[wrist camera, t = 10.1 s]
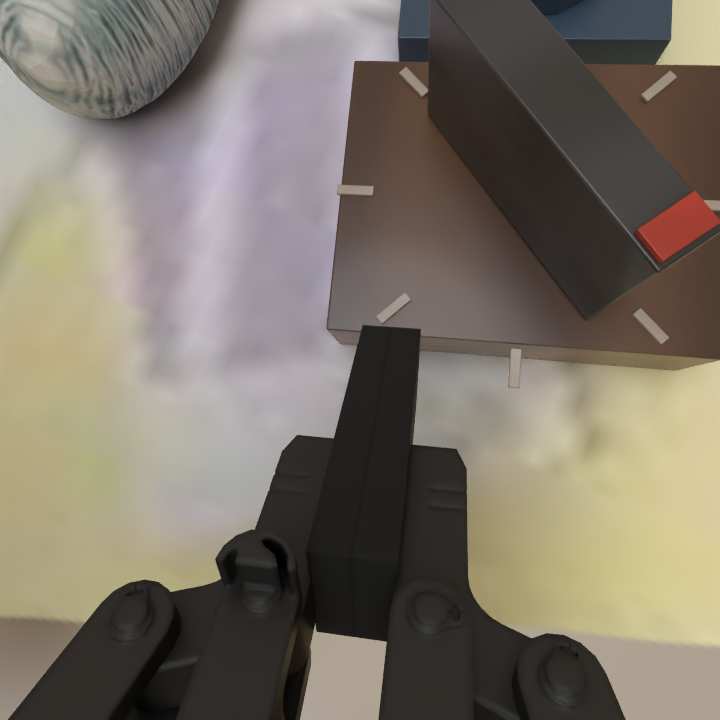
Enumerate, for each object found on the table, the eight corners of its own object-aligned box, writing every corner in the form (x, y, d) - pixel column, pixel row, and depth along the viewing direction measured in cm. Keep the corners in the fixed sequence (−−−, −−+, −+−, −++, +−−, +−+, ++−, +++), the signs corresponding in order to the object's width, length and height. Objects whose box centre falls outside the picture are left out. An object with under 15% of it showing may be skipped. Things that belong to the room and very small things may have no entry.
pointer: (426, 114, 21) (428, -18, 15) (469, 84, 21) (489, -60, 15) (586, 321, 19) (663, 271, 13) (633, 290, 19) (732, 224, 13)
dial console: (333, 379, 24) (318, 371, 20) (364, 79, 25) (355, 20, 22) (678, 409, 22) (728, 406, 18) (687, 84, 23) (735, 22, 20)
